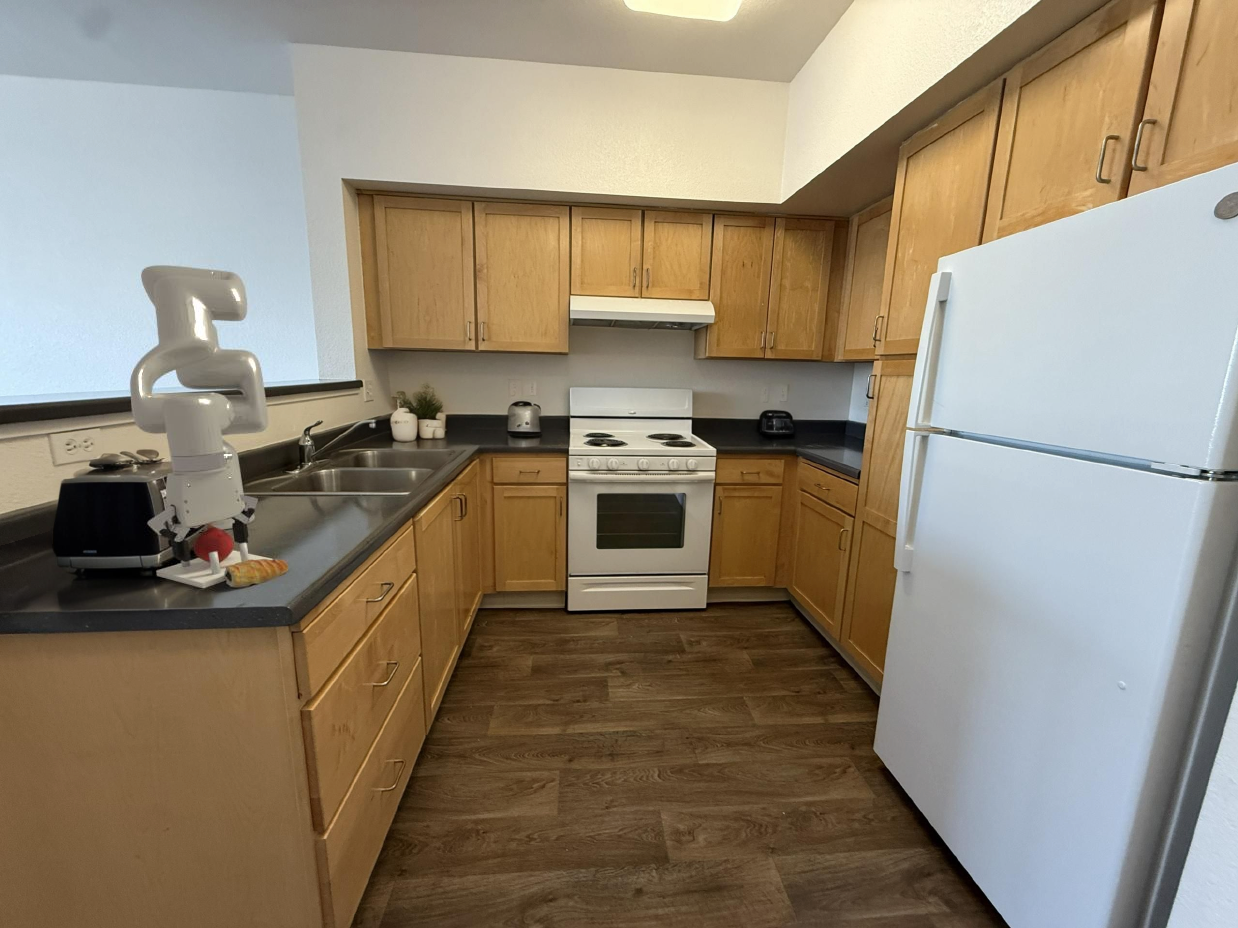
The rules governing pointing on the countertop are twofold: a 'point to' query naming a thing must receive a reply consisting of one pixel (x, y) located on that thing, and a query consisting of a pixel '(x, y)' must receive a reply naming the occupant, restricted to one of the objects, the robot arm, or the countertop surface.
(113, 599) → the countertop surface
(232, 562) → the pin tray
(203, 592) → the countertop surface
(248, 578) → the pastry
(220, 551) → the onion
